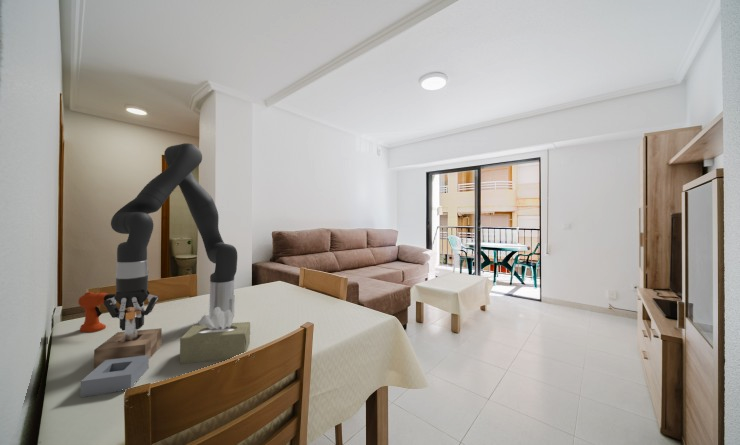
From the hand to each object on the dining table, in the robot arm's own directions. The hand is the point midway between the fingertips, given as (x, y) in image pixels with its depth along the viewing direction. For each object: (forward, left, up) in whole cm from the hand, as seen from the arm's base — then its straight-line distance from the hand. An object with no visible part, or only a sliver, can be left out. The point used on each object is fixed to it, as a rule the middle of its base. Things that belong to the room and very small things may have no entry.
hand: (132, 328), depth 83 cm
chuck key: (0, +1, -6) cm, 6 cm away
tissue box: (-25, +5, -9) cm, 27 cm away
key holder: (-3, +14, -9) cm, 17 cm away
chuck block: (0, 0, -9) cm, 9 cm away
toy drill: (+19, -26, -9) cm, 34 cm away
